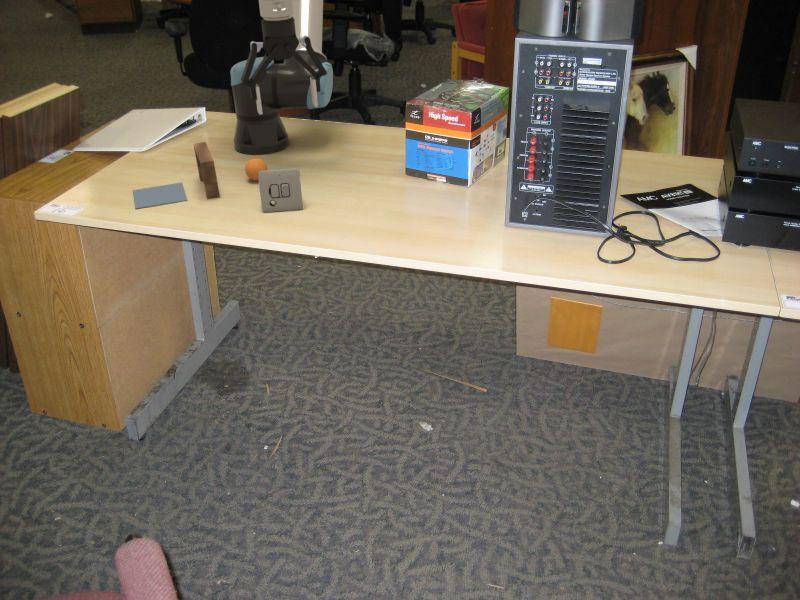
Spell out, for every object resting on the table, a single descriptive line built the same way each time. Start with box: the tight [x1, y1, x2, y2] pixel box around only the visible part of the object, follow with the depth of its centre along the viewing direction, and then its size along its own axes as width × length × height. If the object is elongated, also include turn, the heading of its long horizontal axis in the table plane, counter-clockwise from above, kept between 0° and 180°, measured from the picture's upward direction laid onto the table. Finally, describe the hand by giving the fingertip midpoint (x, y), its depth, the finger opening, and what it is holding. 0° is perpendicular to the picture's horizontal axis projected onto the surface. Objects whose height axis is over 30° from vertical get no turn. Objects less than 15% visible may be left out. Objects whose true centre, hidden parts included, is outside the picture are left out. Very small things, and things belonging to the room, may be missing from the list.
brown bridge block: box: [192, 141, 221, 200], centre depth 182 cm, size 3×14×9 cm, turn 20°
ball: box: [244, 157, 269, 182], centre depth 186 cm, size 6×6×6 cm
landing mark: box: [131, 182, 188, 210], centre depth 181 cm, size 12×12×1 cm
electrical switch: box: [258, 167, 304, 213], centre depth 171 cm, size 9×5×9 cm, turn 96°
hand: (287, 109), depth 181 cm, fingers open, 13 cm apart
